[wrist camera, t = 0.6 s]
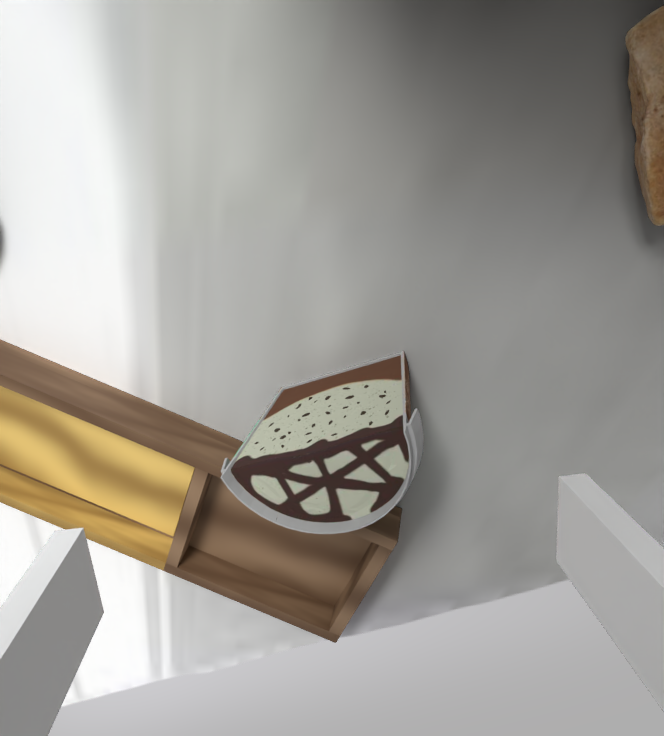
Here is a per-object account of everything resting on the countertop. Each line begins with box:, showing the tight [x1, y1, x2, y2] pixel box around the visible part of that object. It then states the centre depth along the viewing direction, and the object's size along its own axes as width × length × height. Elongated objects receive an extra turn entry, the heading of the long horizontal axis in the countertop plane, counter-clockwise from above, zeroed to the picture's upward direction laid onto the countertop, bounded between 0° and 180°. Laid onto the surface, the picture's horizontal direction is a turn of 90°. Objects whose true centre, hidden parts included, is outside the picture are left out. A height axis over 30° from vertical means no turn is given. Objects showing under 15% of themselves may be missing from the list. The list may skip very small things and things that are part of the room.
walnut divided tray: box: [0, 340, 402, 642], centre depth 46 cm, size 13×36×4 cm, turn 70°
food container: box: [220, 351, 424, 534], centre depth 37 cm, size 12×6×10 cm, turn 114°
